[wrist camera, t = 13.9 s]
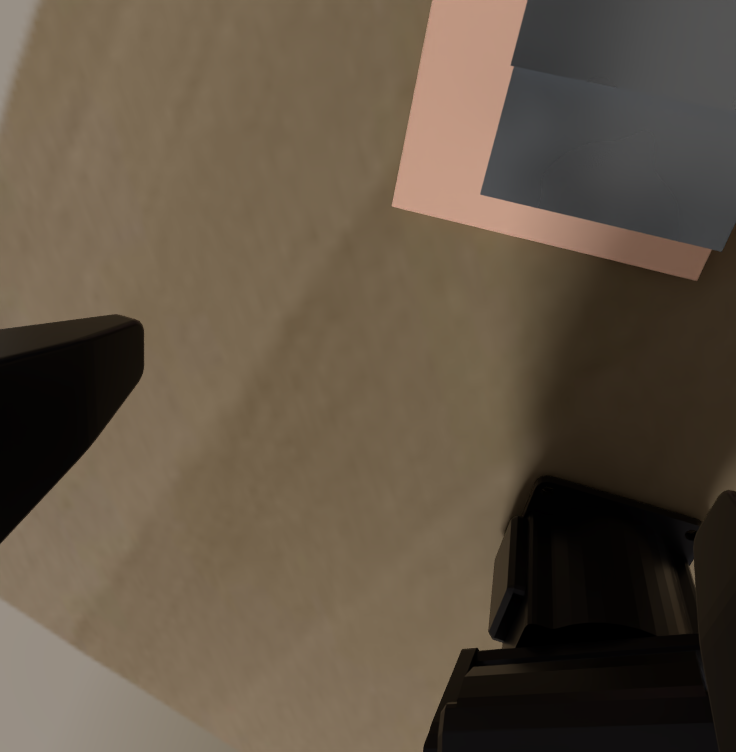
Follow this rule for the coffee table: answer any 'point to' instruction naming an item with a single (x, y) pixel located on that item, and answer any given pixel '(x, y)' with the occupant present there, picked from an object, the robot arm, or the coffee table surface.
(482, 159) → the terracotta mat
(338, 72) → the coffee table surface
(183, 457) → the coffee table surface
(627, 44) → the gray block
